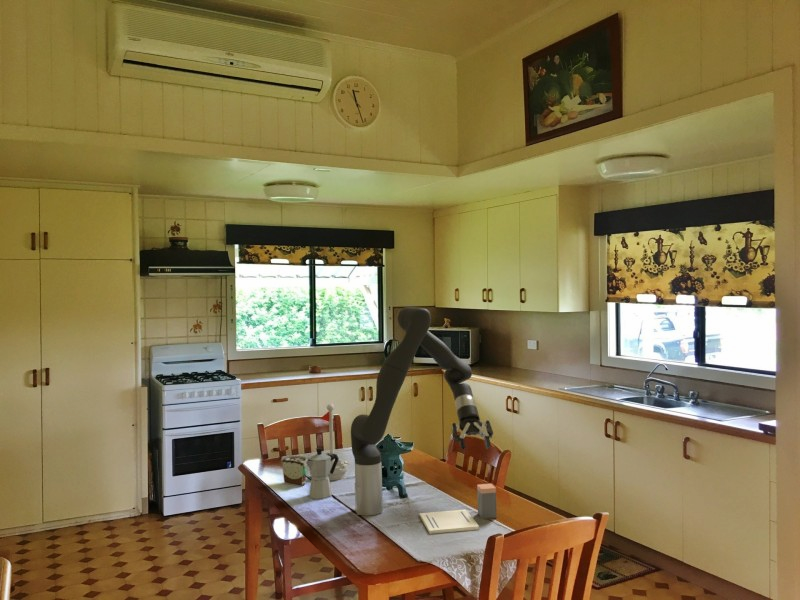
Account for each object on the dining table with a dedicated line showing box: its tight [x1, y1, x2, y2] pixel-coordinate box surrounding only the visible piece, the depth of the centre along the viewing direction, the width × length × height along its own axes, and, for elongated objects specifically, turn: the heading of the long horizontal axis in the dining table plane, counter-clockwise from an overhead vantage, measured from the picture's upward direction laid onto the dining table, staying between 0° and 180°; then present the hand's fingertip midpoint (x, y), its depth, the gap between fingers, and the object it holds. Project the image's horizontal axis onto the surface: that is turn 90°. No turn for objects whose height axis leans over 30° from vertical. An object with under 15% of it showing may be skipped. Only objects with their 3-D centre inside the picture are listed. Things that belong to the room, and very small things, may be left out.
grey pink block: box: [476, 483, 498, 520], centre depth 223 cm, size 5×5×10 cm
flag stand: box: [320, 403, 349, 481], centre depth 274 cm, size 13×13×30 cm
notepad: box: [419, 508, 480, 535], centre depth 218 cm, size 16×16×1 cm
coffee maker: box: [305, 447, 340, 500], centre depth 250 cm, size 15×9×18 cm, turn 131°
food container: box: [280, 455, 308, 487], centre depth 267 cm, size 12×6×10 cm, turn 58°
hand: (476, 448), depth 234 cm, fingers open, 8 cm apart
